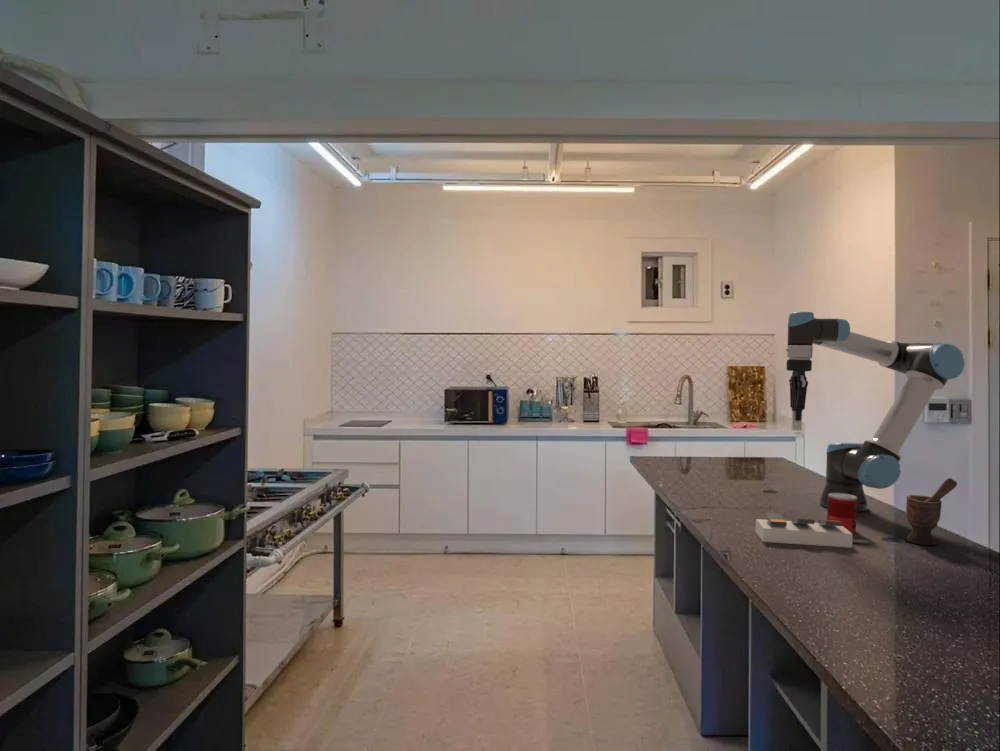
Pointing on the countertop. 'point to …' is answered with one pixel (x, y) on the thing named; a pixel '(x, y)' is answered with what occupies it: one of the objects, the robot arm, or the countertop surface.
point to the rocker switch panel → (806, 534)
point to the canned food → (843, 510)
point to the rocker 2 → (830, 522)
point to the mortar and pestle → (926, 513)
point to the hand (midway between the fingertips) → (796, 430)
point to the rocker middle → (802, 521)
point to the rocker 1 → (775, 519)
